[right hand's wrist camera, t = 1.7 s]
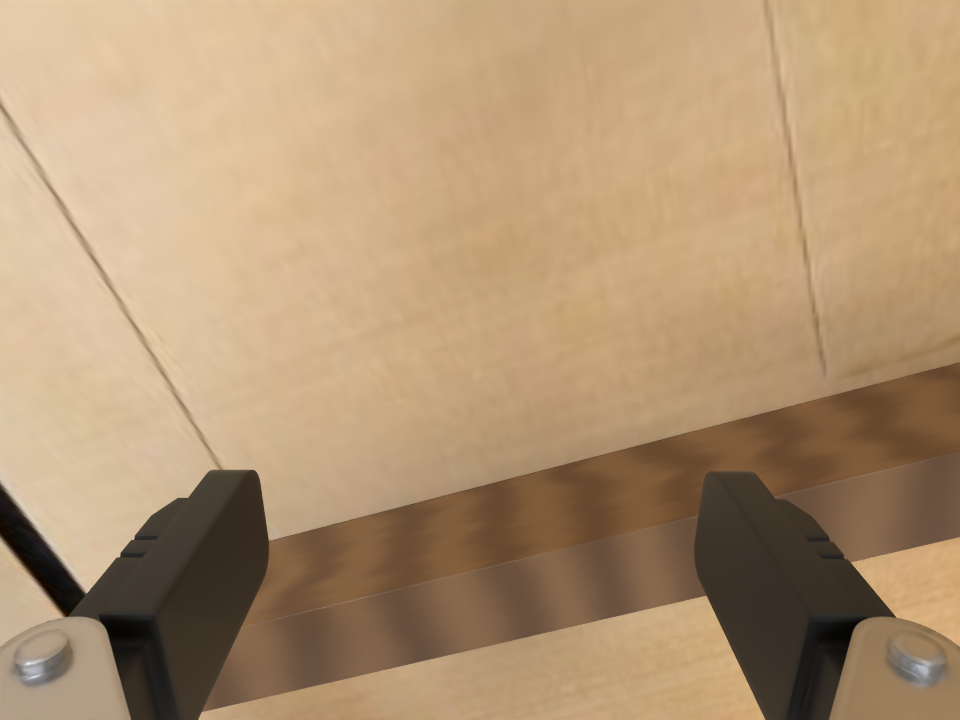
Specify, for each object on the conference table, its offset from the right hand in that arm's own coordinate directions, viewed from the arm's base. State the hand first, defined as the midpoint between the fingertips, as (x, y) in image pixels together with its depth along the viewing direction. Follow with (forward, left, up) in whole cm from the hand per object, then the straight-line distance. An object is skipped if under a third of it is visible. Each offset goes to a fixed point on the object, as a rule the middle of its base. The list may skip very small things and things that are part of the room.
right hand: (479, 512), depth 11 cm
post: (0, +18, -24) cm, 30 cm away
